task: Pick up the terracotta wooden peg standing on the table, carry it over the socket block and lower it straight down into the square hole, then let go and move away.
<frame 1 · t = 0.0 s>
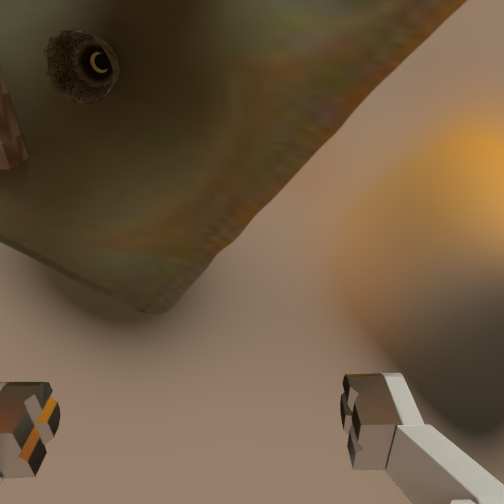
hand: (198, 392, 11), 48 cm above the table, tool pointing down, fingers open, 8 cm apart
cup: (102, 62, 50), on the table
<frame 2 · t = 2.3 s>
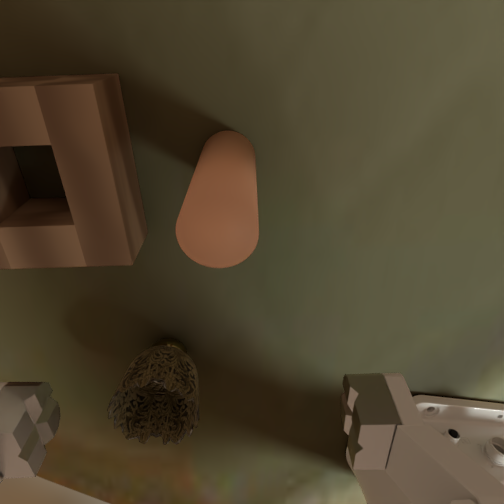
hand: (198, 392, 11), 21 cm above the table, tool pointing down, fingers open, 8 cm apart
socket block: (54, 163, 29), on the table
peg: (228, 157, 29), on the table
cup: (170, 347, 39), on the table
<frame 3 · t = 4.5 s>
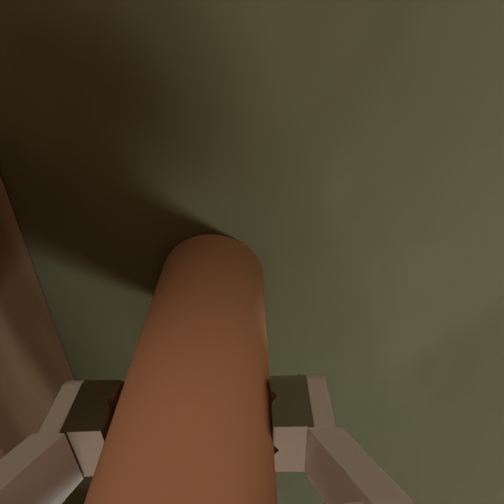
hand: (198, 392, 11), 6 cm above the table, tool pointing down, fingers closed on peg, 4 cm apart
peg: (212, 278, 16), on the table, touching gripper
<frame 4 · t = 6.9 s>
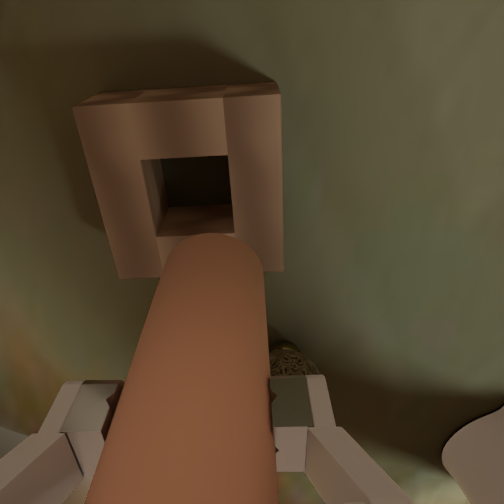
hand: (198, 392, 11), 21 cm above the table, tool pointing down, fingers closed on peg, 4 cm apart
socket block: (198, 172, 30), on the table
peg: (213, 277, 16), point 16 cm above the table, touching gripper
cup: (282, 350, 40), on the table
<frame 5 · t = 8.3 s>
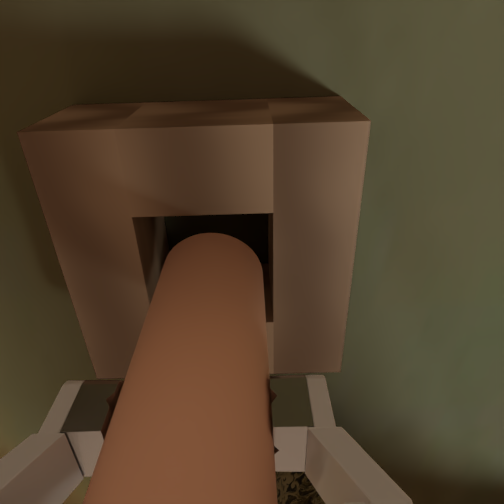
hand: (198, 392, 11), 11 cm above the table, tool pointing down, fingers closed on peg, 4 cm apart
socket block: (216, 221, 21), on the table
peg: (213, 276, 16), point 6 cm above the table, touching gripper
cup: (312, 438, 31), on the table
when the fingers open (7 cm above the table, at t = 9.6 s): peg drops 1 cm, resting in socket block.
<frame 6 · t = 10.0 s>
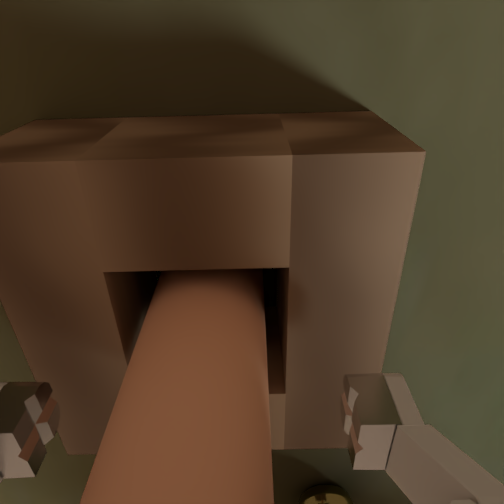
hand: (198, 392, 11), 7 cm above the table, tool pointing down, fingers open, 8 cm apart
socket block: (214, 258, 17), on the table
peg: (216, 257, 17), resting in socket block
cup: (322, 492, 27), on the table
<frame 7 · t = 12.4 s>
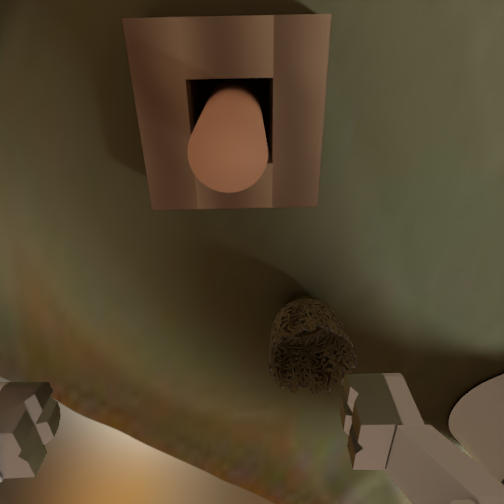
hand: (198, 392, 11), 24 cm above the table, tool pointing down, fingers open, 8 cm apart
socket block: (233, 108, 30), on the table
peg: (234, 108, 30), resting in socket block
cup: (300, 304, 40), on the table
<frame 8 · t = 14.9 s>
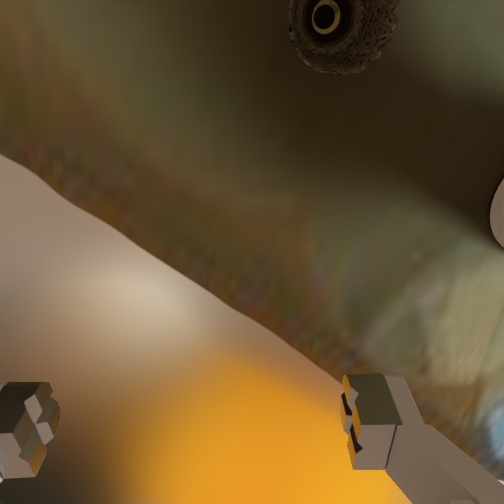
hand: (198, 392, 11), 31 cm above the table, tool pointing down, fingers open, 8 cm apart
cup: (323, 17, 33), on the table
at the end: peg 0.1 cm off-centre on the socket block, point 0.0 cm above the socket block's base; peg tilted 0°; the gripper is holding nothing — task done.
